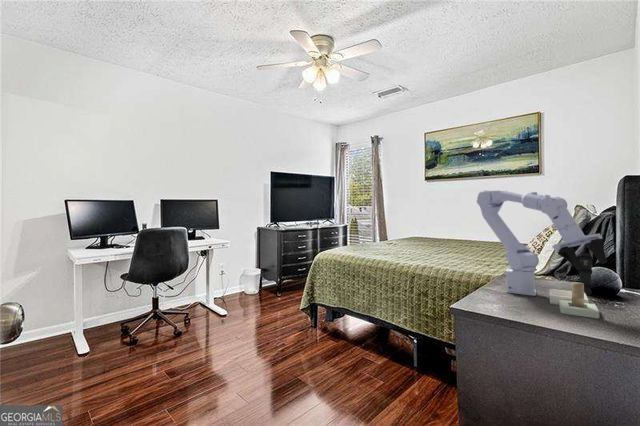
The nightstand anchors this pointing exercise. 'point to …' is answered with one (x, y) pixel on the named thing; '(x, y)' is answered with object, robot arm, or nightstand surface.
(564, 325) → the nightstand surface
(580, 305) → the dowel
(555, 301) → the tray
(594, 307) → the holder
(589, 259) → the magazine
